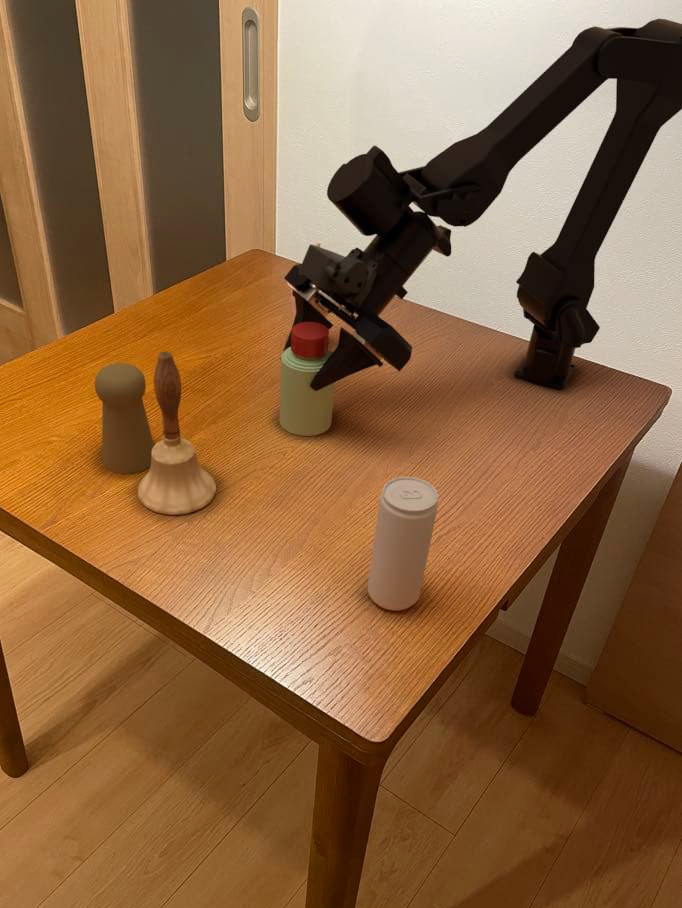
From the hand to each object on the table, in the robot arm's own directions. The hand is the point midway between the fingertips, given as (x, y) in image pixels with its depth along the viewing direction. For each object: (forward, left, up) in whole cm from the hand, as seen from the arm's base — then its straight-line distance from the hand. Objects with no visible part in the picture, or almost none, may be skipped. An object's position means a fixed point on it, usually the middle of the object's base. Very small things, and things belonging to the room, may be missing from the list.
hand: (297, 375), depth 90 cm
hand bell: (+18, -4, -7) cm, 20 cm away
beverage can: (+20, +22, -7) cm, 30 cm away
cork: (+16, -12, -7) cm, 21 cm away
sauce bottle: (-1, +1, -7) cm, 7 cm away
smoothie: (-18, -8, -7) cm, 21 cm away
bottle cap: (-1, +1, +5) cm, 5 cm away
